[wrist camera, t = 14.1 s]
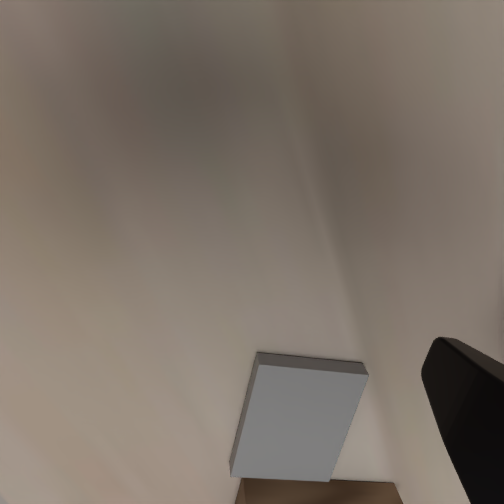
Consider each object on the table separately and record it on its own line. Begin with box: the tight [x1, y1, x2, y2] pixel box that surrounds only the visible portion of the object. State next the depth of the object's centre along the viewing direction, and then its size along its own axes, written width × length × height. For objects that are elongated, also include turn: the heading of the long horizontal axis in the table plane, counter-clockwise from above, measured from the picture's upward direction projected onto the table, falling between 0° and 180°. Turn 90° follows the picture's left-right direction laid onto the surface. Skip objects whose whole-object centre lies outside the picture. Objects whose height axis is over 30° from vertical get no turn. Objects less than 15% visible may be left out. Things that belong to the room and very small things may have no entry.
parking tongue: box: [229, 353, 369, 482], centre depth 26 cm, size 6×8×1 cm
